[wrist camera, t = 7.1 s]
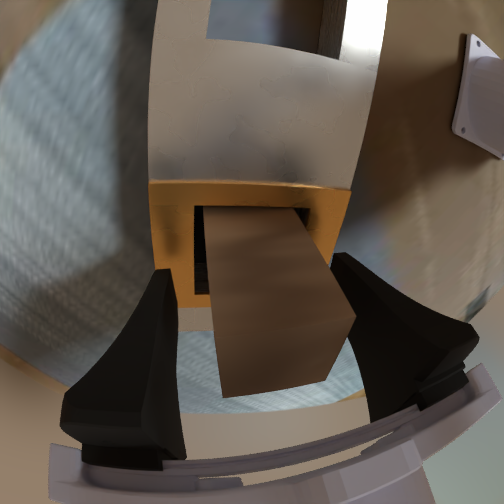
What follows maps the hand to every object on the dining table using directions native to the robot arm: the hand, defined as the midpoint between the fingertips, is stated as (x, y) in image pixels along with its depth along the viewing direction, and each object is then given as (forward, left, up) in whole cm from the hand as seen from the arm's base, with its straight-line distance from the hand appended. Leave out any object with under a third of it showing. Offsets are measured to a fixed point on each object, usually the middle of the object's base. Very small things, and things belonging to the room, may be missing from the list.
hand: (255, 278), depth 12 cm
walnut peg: (0, 0, -4) cm, 4 cm away
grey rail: (0, -6, -4) cm, 7 cm away
